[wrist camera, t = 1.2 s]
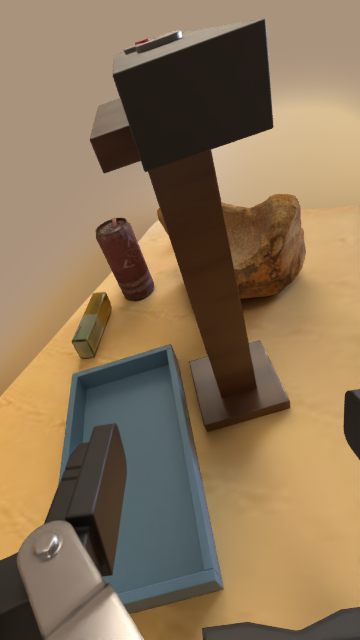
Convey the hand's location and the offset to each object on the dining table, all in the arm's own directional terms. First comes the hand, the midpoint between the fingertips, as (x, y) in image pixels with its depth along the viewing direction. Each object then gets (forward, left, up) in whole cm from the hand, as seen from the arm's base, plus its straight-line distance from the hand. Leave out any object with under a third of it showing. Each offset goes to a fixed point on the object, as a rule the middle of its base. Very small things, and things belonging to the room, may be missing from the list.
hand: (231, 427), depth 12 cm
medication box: (-18, -38, -25) cm, 49 cm away
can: (-30, -37, -25) cm, 54 cm away
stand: (-16, -11, -24) cm, 31 cm away
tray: (-3, -18, -24) cm, 30 cm away
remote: (-13, -8, +8) cm, 17 cm away
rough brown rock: (-34, -20, -25) cm, 47 cm away
